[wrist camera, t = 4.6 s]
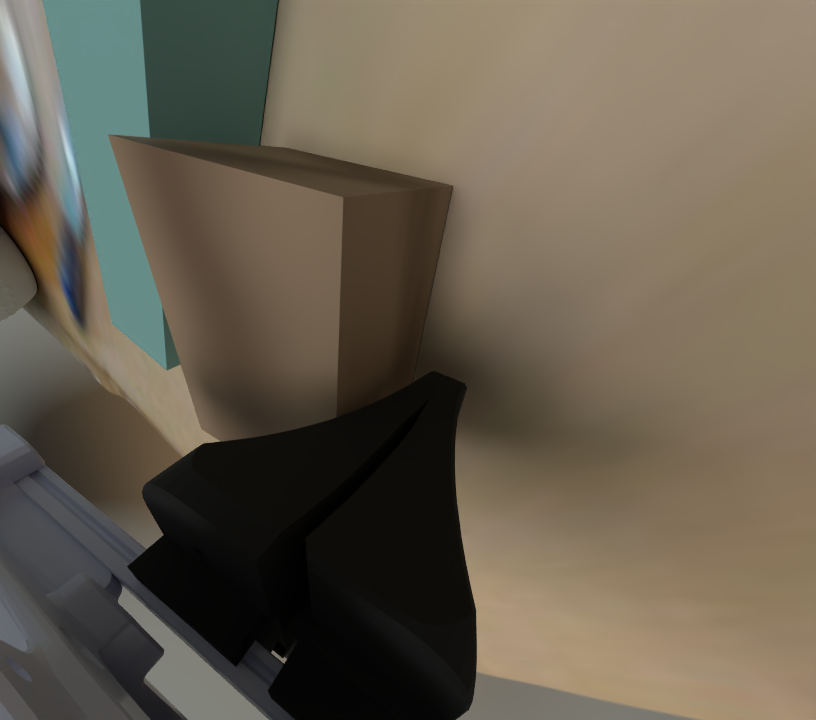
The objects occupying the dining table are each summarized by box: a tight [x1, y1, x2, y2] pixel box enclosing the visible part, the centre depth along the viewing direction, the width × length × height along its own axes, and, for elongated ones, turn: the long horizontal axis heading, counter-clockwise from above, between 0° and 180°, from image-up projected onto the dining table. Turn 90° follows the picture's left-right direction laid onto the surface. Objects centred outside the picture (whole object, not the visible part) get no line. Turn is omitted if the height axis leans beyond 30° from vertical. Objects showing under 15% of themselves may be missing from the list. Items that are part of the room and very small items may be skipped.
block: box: [108, 134, 453, 442], centre depth 10 cm, size 6×9×5 cm, turn 170°
